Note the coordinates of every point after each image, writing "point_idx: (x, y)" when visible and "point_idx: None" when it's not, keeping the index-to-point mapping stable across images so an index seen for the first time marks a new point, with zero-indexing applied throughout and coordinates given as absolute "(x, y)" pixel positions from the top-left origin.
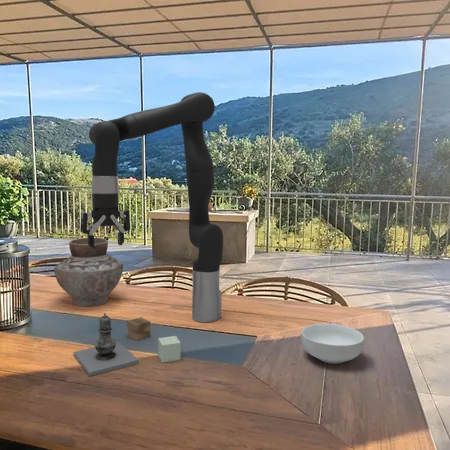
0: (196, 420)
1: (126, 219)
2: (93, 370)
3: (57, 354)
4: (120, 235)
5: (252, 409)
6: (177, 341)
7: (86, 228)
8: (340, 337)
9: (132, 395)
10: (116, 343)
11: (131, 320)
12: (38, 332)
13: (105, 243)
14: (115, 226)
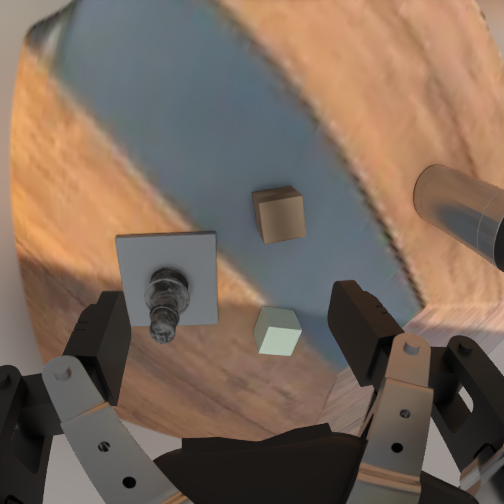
0: (221, 429)
1: (461, 462)
2: (137, 323)
3: (89, 213)
4: (356, 373)
5: (276, 430)
6: (289, 350)
7: (43, 455)
8: None
9: (177, 383)
10: (187, 308)
11: (269, 205)
12: (75, 65)
13: None
14: (369, 415)
